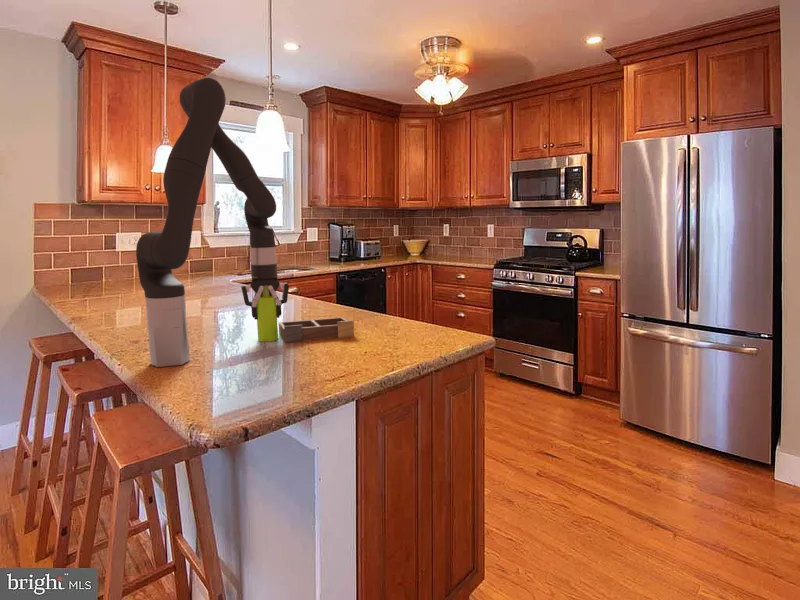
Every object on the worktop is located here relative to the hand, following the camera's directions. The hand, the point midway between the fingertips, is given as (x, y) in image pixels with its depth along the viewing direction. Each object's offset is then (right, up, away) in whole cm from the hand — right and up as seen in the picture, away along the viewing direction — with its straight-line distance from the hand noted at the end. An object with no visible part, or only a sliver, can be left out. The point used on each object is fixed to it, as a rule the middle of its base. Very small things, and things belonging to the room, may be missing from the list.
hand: (267, 317), depth 156 cm
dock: (+14, -6, +7) cm, 16 cm away
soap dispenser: (0, -7, +1) cm, 7 cm away
